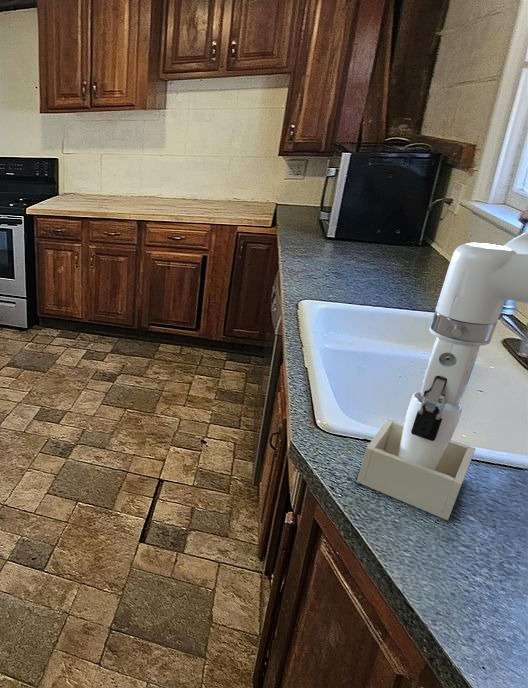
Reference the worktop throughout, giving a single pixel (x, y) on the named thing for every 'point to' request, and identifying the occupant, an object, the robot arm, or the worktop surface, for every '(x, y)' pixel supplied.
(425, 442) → the drinking glass
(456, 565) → the worktop surface
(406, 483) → the beige open box
